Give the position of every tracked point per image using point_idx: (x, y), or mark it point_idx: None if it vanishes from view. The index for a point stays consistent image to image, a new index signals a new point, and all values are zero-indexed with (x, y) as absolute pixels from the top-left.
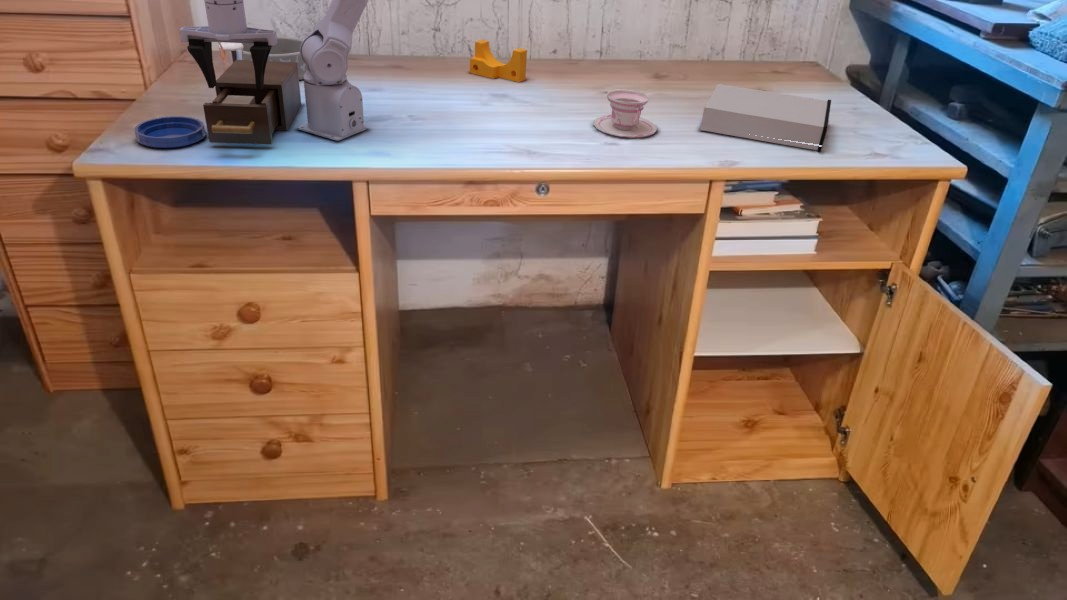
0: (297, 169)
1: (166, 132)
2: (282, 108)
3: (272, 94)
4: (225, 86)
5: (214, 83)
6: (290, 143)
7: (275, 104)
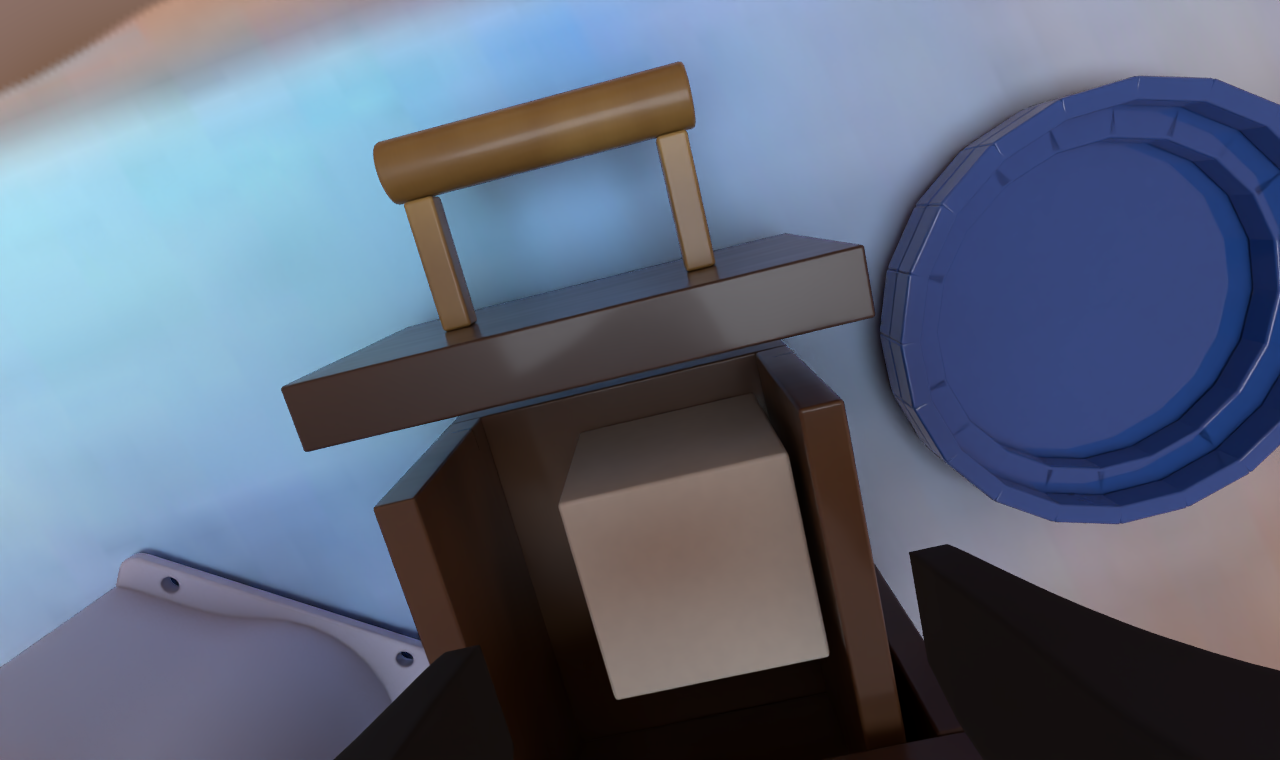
0: (106, 67)
1: (1143, 354)
2: None
3: None
4: (889, 749)
5: (931, 632)
6: (373, 450)
7: None
